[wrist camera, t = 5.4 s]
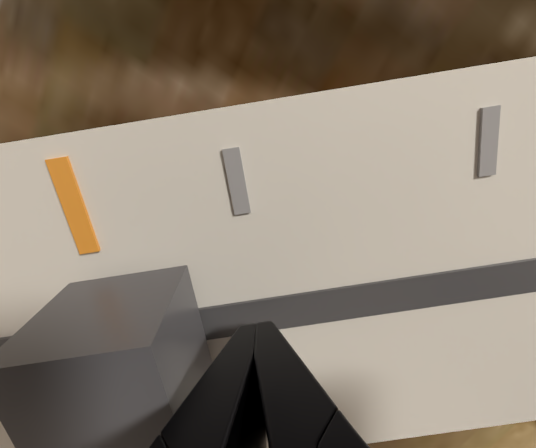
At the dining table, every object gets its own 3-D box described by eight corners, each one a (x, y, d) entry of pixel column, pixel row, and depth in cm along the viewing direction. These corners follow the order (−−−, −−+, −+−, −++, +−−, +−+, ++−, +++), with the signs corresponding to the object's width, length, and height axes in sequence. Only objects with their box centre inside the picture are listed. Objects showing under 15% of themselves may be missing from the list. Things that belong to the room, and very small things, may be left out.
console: (554, 377, 12) (595, 415, 11) (25, 451, 13) (-7, 497, 11) (608, 45, 9) (682, 32, 7) (-132, 166, 9) (-209, 177, 8)
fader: (219, 389, 10) (203, 506, 7) (117, 403, 10) (59, 526, 7) (187, 265, 8) (150, 346, 5) (69, 283, 8) (-28, 372, 6)
